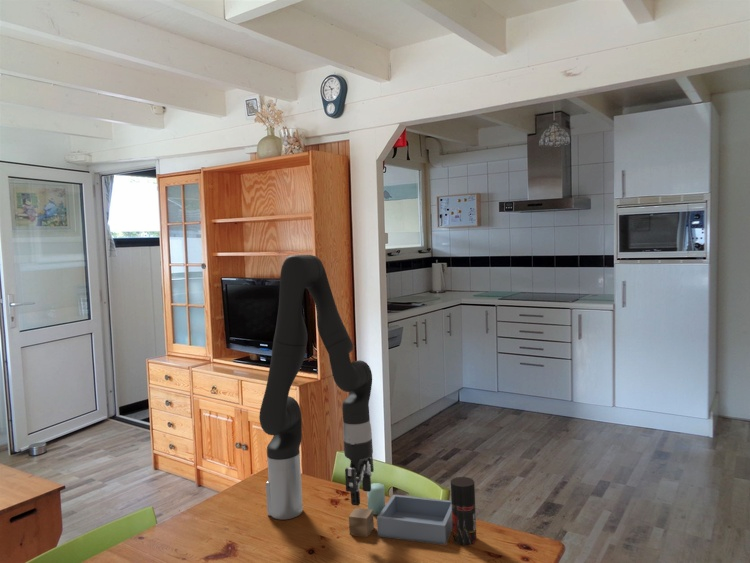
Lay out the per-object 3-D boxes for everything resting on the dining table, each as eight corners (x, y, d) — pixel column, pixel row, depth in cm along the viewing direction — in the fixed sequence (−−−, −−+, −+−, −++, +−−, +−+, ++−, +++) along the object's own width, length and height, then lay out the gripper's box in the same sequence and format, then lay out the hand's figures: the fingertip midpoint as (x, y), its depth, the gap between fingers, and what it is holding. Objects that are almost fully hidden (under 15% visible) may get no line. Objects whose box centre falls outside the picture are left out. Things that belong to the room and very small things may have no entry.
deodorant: (476, 546, 137) (474, 487, 136) (452, 544, 138) (449, 486, 137) (476, 534, 142) (474, 477, 142) (453, 532, 144) (451, 476, 143)
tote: (377, 536, 144) (376, 517, 144) (393, 511, 157) (393, 494, 157) (445, 545, 138) (445, 525, 137) (456, 519, 151) (455, 501, 151)
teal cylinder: (365, 513, 157) (364, 489, 156) (371, 505, 161) (370, 482, 161) (382, 515, 155) (381, 491, 155) (387, 507, 160) (386, 484, 159)
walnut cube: (349, 534, 145) (348, 516, 145) (356, 525, 150) (355, 507, 150) (367, 537, 144) (366, 518, 143) (373, 528, 148) (373, 509, 148)
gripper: (354, 428, 154) (358, 485, 154) (333, 445, 140) (338, 508, 141) (379, 429, 151) (383, 487, 152) (361, 447, 138) (365, 511, 138)
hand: (361, 497), depth 146 cm, fingers open, 8 cm apart
